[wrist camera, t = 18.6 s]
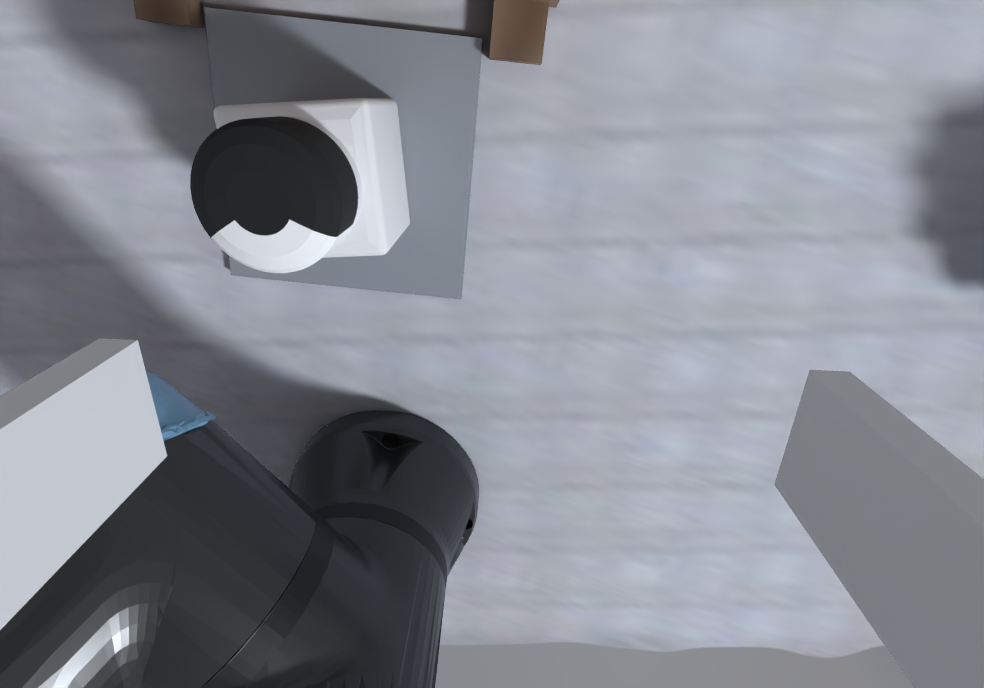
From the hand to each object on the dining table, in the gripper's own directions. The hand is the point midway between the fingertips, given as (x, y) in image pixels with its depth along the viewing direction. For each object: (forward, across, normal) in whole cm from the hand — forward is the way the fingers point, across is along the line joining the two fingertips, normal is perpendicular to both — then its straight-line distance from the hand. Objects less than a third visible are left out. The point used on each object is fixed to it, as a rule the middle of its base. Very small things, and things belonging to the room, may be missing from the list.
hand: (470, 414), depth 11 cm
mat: (+27, +10, -2) cm, 29 cm away
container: (+27, +10, -2) cm, 28 cm away
